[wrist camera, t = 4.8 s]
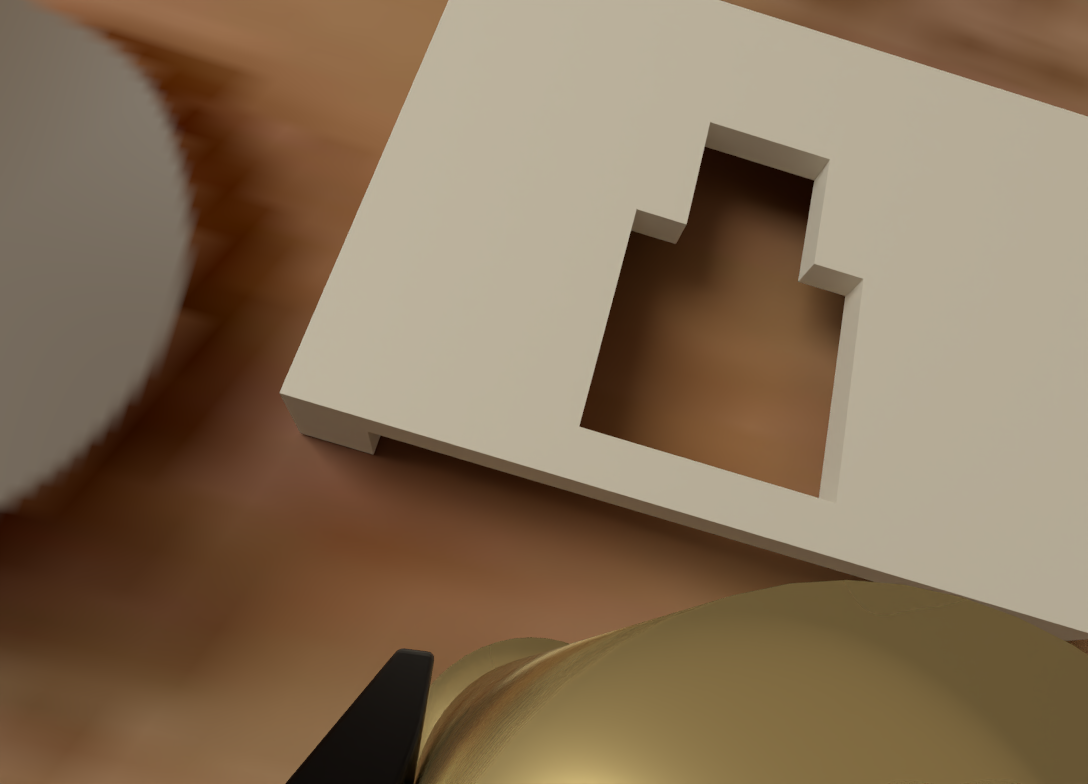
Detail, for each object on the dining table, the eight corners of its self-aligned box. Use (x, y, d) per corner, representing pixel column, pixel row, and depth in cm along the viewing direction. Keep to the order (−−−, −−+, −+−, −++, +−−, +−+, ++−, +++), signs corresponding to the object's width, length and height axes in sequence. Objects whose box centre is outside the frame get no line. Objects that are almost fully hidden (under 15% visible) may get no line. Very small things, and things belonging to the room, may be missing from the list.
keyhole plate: (1015, 644, 21) (1104, 637, 18) (300, 433, 20) (279, 392, 18) (1029, 178, 27) (1097, 119, 24) (476, 4, 26) (481, -75, 24)
